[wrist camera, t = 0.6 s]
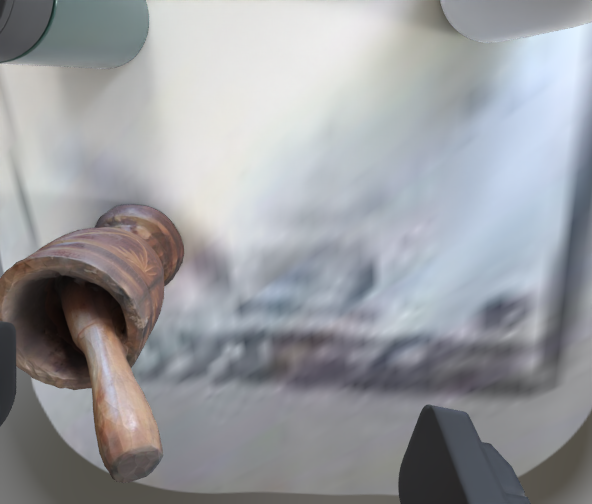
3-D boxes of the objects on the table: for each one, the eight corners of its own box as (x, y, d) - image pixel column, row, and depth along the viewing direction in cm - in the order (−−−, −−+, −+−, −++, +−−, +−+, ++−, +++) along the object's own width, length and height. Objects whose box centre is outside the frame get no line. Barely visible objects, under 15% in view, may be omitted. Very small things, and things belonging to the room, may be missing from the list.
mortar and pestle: (238, 217, 38) (171, 355, 19) (221, 312, 41) (149, 513, 22) (92, 187, 37) (-128, 298, 18) (86, 286, 40) (-109, 470, 21)
